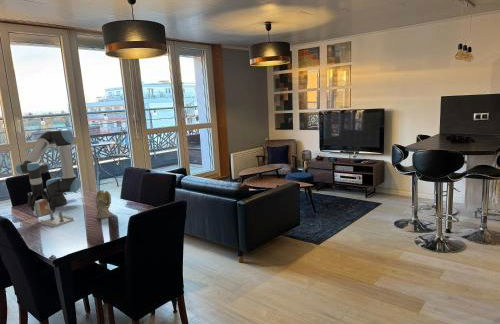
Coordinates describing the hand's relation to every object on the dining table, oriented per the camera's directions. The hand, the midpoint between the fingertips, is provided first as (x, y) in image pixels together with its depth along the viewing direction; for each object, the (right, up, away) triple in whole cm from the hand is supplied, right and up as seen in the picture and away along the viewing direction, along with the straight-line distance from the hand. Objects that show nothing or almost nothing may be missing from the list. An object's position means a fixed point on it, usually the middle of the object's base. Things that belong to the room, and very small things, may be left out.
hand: (42, 212), depth 254 cm
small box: (0, -1, 0) cm, 1 cm away
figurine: (+47, -3, -1) cm, 47 cm away
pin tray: (+15, -6, -6) cm, 17 cm away
